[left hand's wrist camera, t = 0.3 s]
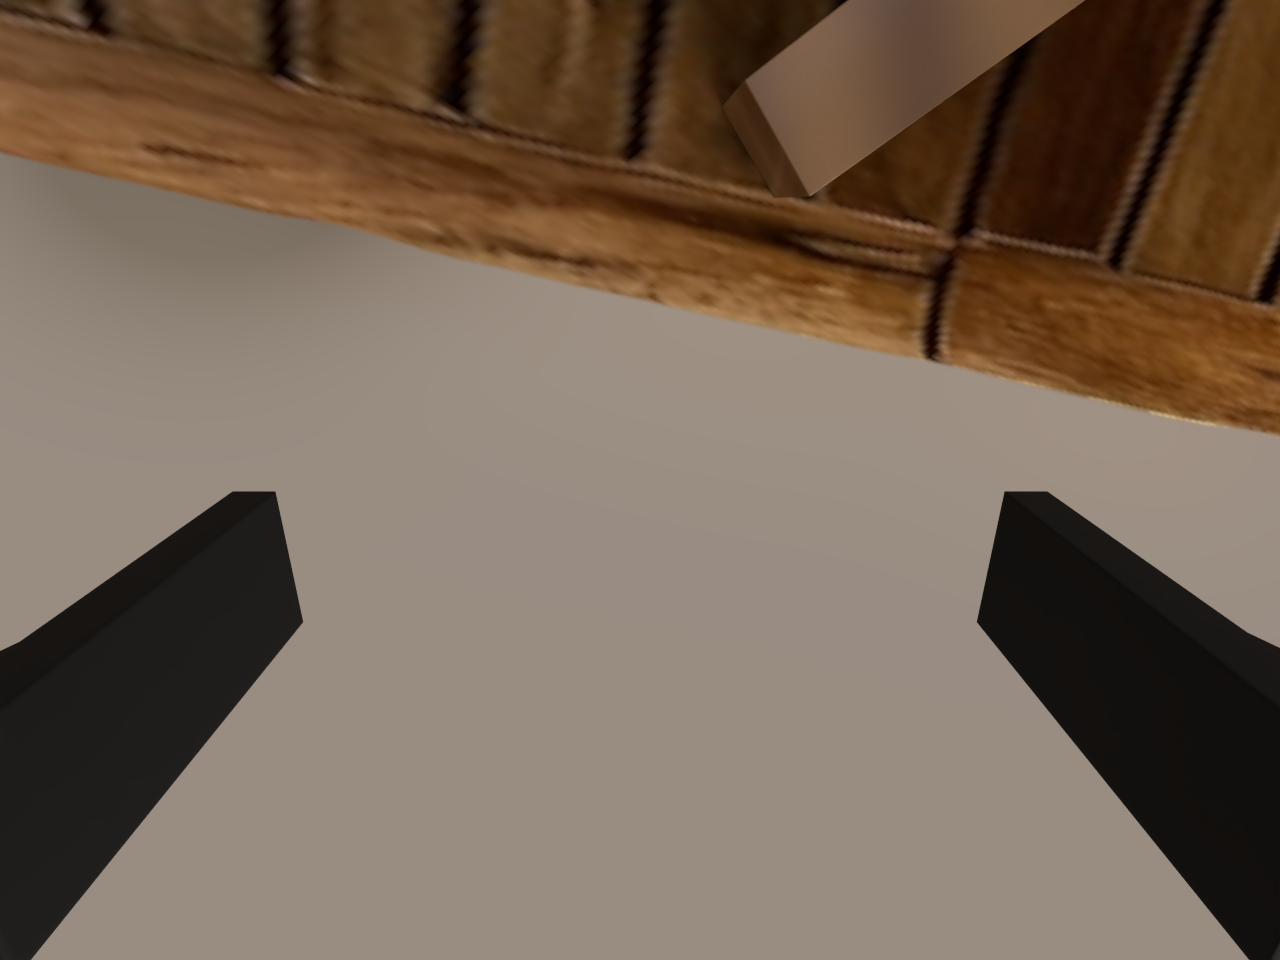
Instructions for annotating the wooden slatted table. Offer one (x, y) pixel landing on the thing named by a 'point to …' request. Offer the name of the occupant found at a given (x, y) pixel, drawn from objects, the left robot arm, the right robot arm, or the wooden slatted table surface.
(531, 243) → the wooden slatted table surface
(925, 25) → the beam
